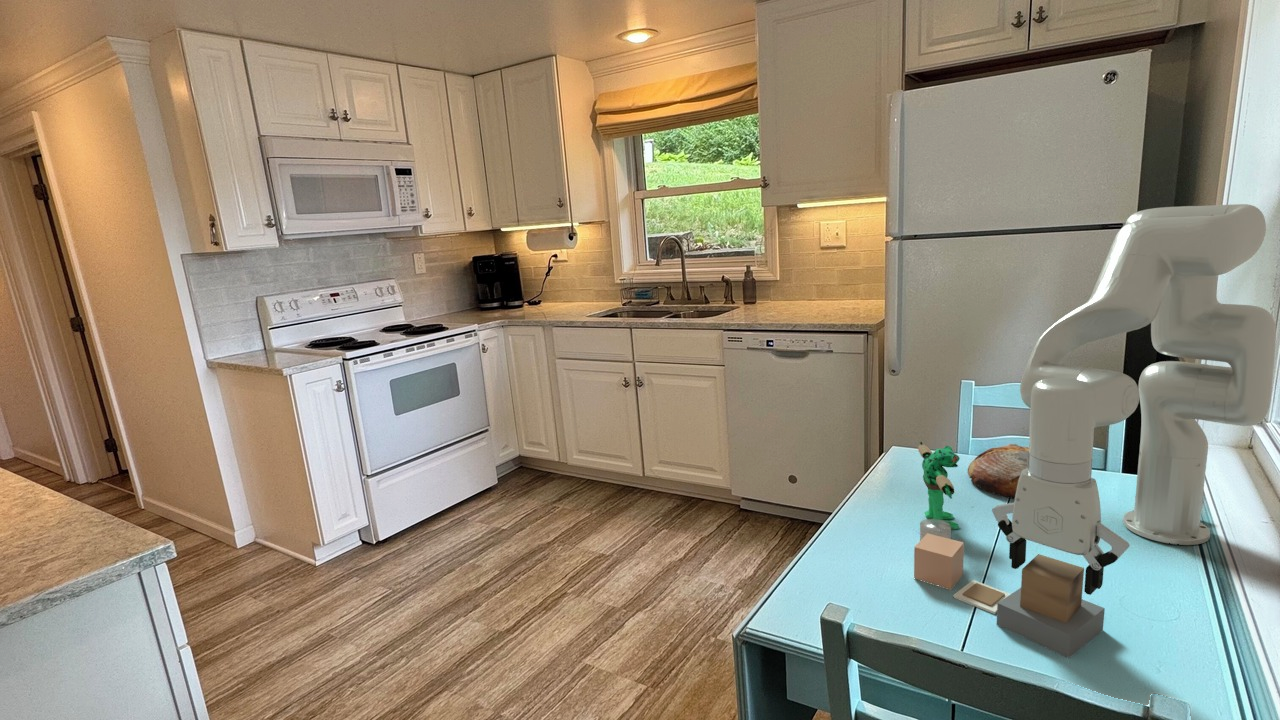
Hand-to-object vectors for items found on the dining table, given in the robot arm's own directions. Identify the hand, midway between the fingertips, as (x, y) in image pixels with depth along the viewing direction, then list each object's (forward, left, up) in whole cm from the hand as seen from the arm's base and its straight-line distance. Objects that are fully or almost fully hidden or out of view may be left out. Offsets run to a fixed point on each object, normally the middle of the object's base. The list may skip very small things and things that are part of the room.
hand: (1053, 577), depth 97 cm
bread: (-47, -26, -8) cm, 55 cm away
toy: (-21, -28, -8) cm, 36 cm away
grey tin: (-8, -22, -8) cm, 25 cm away
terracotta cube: (-2, -18, -8) cm, 20 cm away
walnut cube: (+1, 0, -4) cm, 4 cm away
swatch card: (-1, -10, -8) cm, 13 cm away
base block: (0, 0, -8) cm, 8 cm away
